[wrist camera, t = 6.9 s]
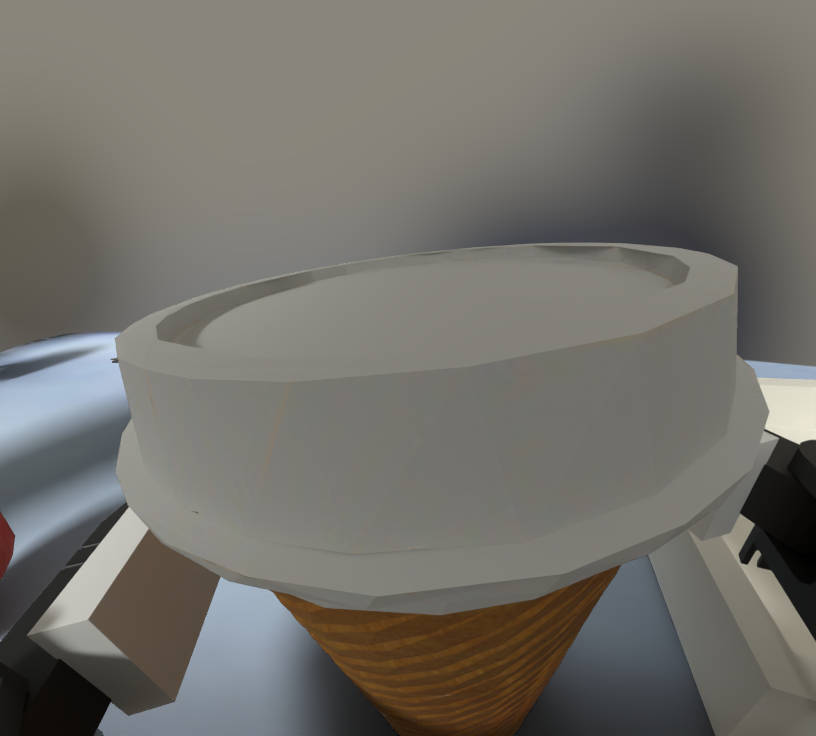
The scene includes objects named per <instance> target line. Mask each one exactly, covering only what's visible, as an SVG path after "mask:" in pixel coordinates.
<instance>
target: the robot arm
mask: <svg viewBox="0 0 816 736" xmlns="http://www.w3.org/2000/svg"><path fill="white" fill-rule="evenodd" d="M740 514H741V515H743V516H744V517H745V518H747V519H748V520H750V521H751V522H753V523H754V524H755V525H754V527H753V529H752V530H751V532H750V534H749V536H748V538H747V539H746V541H745V543H744V545H743V546H742V548H741V550H740V552H739V554H738V555H739V558H740V562H741V563H742V564H746V565H748V563H749V562H750V560H751V558H752V557H753V555H754V553H755V552H756V551H760V553H761V556H760V557H759V559H758V561H757V567H758V568H762V569H767V570H771V571H772V572H773V574H774V575H775V577H776V579H777V580H778V582H779V583H780V585H781V587H782V588H783V590H784V592H785V593H786V595H787V596H788V598H789V600H790V601H791V603H792V604H793V606H794V608H795V609H796V611H797V612H798V614H799V616H800V617H801V619H802V620H803V622H804V624H805V625H806V627H807V628H808V630H809V632H810V633H811V635H812V636H813V638H814V640H815V641H816V440H807V441H804V442H801V443H800V444H797V443H795V442H793V441H790V440H788V439H786V438H784V437H782V436H779V435H777V434H775V433H773V432H771V431H769V430H766V429H764V431H763V435H762V438H761V441H760V444H759V447H758V451H757V454H756V457H755V460H754V464H753V467H752V469H751V470H750V472H749V473H748V474H747V475H746V476H745V478H744V479H743V480H742V481H741V483H740V484H739V485H738V486H737V487H736V489H735V490H734V491H733V492H732V494H731V495H730V496H729V497H728V498H727V500H726V501H725V502H724V503H723V504H722V506H721V507H719V508H718V509H716V510H715V511H713V512H712V513H710V514H709V515H707V516H706V517H704V518H703V519H701V520H700V521H698V522H697V523H695V524H694V525H693V526H691V527H690V528H688V530H689V531H691V532H692V533H693V534H694V535H695V536H696V537H698V538H699V539H700V540H701V541H706V540H709V539H712V538H716V537H719V536H722V535H725V534H729V533H731V531H732V529H733V527H734V525H735V523H736V521H737V519H738V517H739V515H740ZM82 546H83V548H82V550H78V551H77V553H76V554H75V555H74V556H73V557H72V558H71V560H70V561H69V562H68V563H67V564H66V569H65V570H62V571H60V573H59V574H58V575H57V576H56V577H55V579H54V580H53V581H52V582H51V583H50V584H49V586H48V587H47V588H46V589H45V590H44V591H43V593H42V594H41V595H40V596H39V597H38V599H37V600H36V601H35V602H34V603H33V604H32V606H31V607H30V608H29V609H28V610H27V612H26V613H25V614H24V615H23V616H22V617H21V619H20V620H19V621H18V622H17V623H16V624H15V626H14V627H13V628H12V629H11V630H10V632H9V633H8V634H7V635H6V636H5V637H4V639H3V640H2V641H1V642H0V736H104V735H103V732H102V731H100V730H99V729H97V728H98V726H99V724H100V722H101V720H102V718H103V716H104V714H105V712H106V710H107V708H108V706H109V704H110V702H112V703H113V704H114V705H115V706H117V707H118V708H119V709H121V710H122V711H123V712H124V713H126V714H127V715H128V716H129V715H133V714H136V713H139V712H143V711H146V710H149V709H152V708H156V707H159V706H162V705H166V704H169V703H172V702H175V700H176V697H177V694H178V691H179V689H180V686H181V683H182V680H183V678H184V675H185V672H186V669H187V667H188V664H189V661H190V658H191V656H192V653H193V650H194V647H195V645H196V642H197V639H198V637H199V634H200V631H201V628H202V626H203V623H204V620H205V617H206V615H207V612H208V609H209V606H210V604H211V601H212V598H213V595H214V593H215V590H216V587H217V585H218V582H219V579H220V576H219V575H217V574H215V573H214V572H212V571H210V570H208V569H206V568H205V567H203V566H201V565H199V564H198V563H196V562H194V561H192V560H191V559H189V558H187V557H185V556H184V555H182V554H180V553H178V552H177V551H175V550H173V549H171V548H169V547H168V546H166V545H164V544H162V543H161V542H160V540H159V539H158V538H157V537H156V536H155V535H154V534H153V533H152V532H151V530H150V529H149V528H148V527H147V526H146V525H145V524H144V523H143V522H142V520H141V519H140V518H139V517H138V516H137V515H136V514H135V513H134V512H133V510H132V509H131V508H130V507H129V506H128V505H127V503H125V504H124V505H123V506H122V507H120V508H119V509H118V510H117V511H116V512H114V513H113V514H112V515H111V516H109V517H108V518H107V519H106V520H105V521H103V522H102V523H101V524H100V525H99V527H98V528H97V529H96V530H95V531H94V533H93V534H92V535H91V536H90V537H89V538H88V540H87V541H86V542H85V543H84V544H83V545H82Z"/></svg>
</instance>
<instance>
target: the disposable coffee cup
mask: <svg viewBox="0 0 816 736" xmlns="http://www.w3.org/2000/svg"><path fill="white" fill-rule="evenodd" d="M737 291H738V266H735V265H733V264H731V263H729V262H726V261H724V260H722V259H720V258H717V257H715V256H713V255H710V254H707V253H702V252H696V251H691V250H685V249H680V248H671V247H659V246H647V245H636V244H624V243H622V244H621V243H544V244H523V245H506V246H490V247H475V248H465V249H455V250H445V251H435V252H425V253H416V254H408V255H400V256H393V257H385V258H378V259H370V260H362V261H356V262H351V263H345V264H339V265H333V266H327V267H321V268H315V269H311V270H304V271H299V272H293V273H289V274H285V275H280V276H276V277H271V278H266V279H263V280H258V281H253V282H249V283H245V284H241V285H237V286H233V287H229V288H225V289H222V290H218V291H215V292H212V293H209V294H205V295H202V296H198V297H196V298H193V299H190V300H187V301H185V302H182V303H179V304H176V305H174V306H171V307H169V308H166V309H163V310H160V311H158V312H155V313H152V314H150V315H148V316H147V317H145V318H143V319H141V320H139V321H138V322H136V323H134V324H132V325H131V326H130V327H128V328H127V329H126V330H125V331H123V332H122V333H121V334H120V335H119V336H117V337H116V338H115V342H116V351H117V359H118V363H119V367H120V371H121V375H122V379H123V383H124V387H125V391H126V395H127V399H128V403H129V407H130V411H131V416H132V418H131V420H130V421H129V423H128V425H127V426H126V428H125V430H124V432H123V433H122V436H121V442H120V448H119V453H118V459H117V465H116V471H115V472H116V475H117V477H118V480H119V483H120V485H121V488H122V491H123V494H124V496H125V499H126V502H127V505H128V506H129V507H130V508H131V509H132V510H133V512H134V513H135V514H136V515H137V516H138V517H139V518H140V519H141V520H142V522H143V523H144V524H145V525H146V526H147V527H148V528H149V529H150V530H151V532H152V533H153V534H154V535H155V536H156V537H157V538H158V539H159V540H160V542H161V543H162V544H164V545H166V546H168V547H169V548H171V549H173V550H175V551H177V552H178V553H180V554H182V555H184V556H185V557H187V558H189V559H191V560H192V561H194V562H196V563H198V564H199V565H201V566H203V567H205V568H206V569H208V570H210V571H212V572H214V573H215V574H217V575H219V576H221V577H222V578H224V579H226V580H228V581H230V582H235V583H240V584H244V585H249V586H254V587H258V588H263V589H268V590H270V591H272V592H273V593H274V594H275V595H276V597H277V598H278V599H279V601H280V602H281V603H282V604H283V605H284V606H285V607H286V608H287V609H288V610H289V611H290V612H291V613H292V615H293V616H294V617H295V619H296V620H297V621H298V622H299V623H300V624H301V625H302V626H303V627H304V628H306V629H307V631H308V632H309V634H310V635H311V636H312V638H313V639H314V640H316V641H317V642H318V644H319V645H320V646H321V647H322V649H323V650H324V651H325V652H326V653H327V654H329V655H330V657H331V658H332V659H333V661H334V662H335V663H336V664H337V665H338V666H339V667H340V669H341V670H342V671H343V672H344V673H345V674H346V675H347V676H348V677H349V679H350V680H351V681H352V682H353V683H354V684H355V685H356V686H357V687H358V688H359V690H360V691H361V692H362V694H364V695H365V696H366V697H367V699H368V700H370V701H371V703H372V704H373V705H374V706H375V707H376V708H377V709H378V710H379V712H380V713H381V714H382V715H383V716H384V717H385V719H386V720H387V721H388V722H389V724H390V725H391V726H392V727H393V729H394V730H395V731H396V732H397V733H398V734H400V735H401V736H512V735H513V734H514V733H515V732H516V731H517V730H518V729H519V728H520V727H521V725H522V723H523V722H524V720H525V718H526V716H527V715H528V713H529V712H530V710H531V708H532V707H533V705H534V703H535V702H536V701H537V699H538V697H539V695H540V694H541V693H542V691H543V689H544V687H545V686H546V685H547V683H548V682H549V680H550V678H551V677H552V675H553V674H554V672H555V670H556V669H557V668H558V667H559V665H560V663H561V661H562V660H563V658H564V656H565V654H566V652H567V650H568V649H569V648H570V646H571V645H572V643H573V641H574V639H575V638H576V636H577V634H578V633H579V631H580V629H581V627H582V626H583V624H584V622H585V621H586V619H587V618H588V616H589V615H590V613H591V611H592V610H593V608H594V606H595V605H596V603H597V602H598V600H599V599H600V597H601V596H602V594H603V592H604V591H605V589H606V588H607V586H608V585H609V584H610V582H611V581H612V579H613V578H614V577H615V575H616V573H617V572H618V570H619V568H620V566H621V564H624V563H627V562H629V561H632V560H635V559H637V558H640V557H643V556H646V555H648V554H651V553H653V552H654V551H656V550H657V549H659V548H660V547H662V546H663V545H664V544H666V543H667V542H669V541H670V540H672V539H673V538H675V537H676V536H678V535H679V534H681V533H682V532H684V531H685V530H687V529H688V528H690V527H691V526H693V525H694V524H695V523H697V522H698V521H700V520H701V519H703V518H704V517H706V516H707V515H709V514H710V513H712V512H713V511H715V510H716V509H718V508H719V507H721V506H722V504H723V503H724V502H725V501H726V500H727V498H728V497H729V496H730V495H731V494H732V492H733V491H734V490H735V489H736V487H737V486H738V485H739V484H740V483H741V481H742V480H743V479H744V478H745V476H746V475H747V474H748V473H749V472H750V470H751V469H752V467H753V464H754V460H755V457H756V454H757V451H758V447H759V444H760V441H761V438H762V435H763V431H764V428H765V425H766V422H767V418H768V415H769V412H770V411H769V409H768V406H767V404H766V401H765V398H764V396H763V393H762V390H761V388H760V385H759V382H758V380H757V377H756V374H755V372H754V369H753V368H752V367H750V366H749V365H748V364H747V363H746V362H745V361H744V360H743V359H741V358H740V357H739V356H738V355H737V352H736V350H737Z"/></svg>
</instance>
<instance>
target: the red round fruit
mask: <svg viewBox="0 0 816 736" xmlns="http://www.w3.org/2000/svg"><path fill="white" fill-rule="evenodd" d="M14 540H15V535H14V533H13V531H12V530H11V528H10V526H9V524H8V523H7V521H6V519H5V518H4V517H3V515H2V514H1V512H0V580H1V578H2V576H3V575H4V573H5V571H6V569H7V566H8V564H9V562H10V560H11V558H12V555H13V549H14Z"/></svg>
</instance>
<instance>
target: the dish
mask: <svg viewBox="0 0 816 736" xmlns="http://www.w3.org/2000/svg"><path fill="white" fill-rule="evenodd" d="M757 380H758V382H759V385H760V388H761V390H762V393H763V396H764V398H765V401H766V404H767V406H768V409H769V411H770V412H769V415H768V418H767V422H766V425H765V428H764V429H766V430H769V431H771V432H773V433H775V434H777V435H779V436H782V437H784V438H786V439H788V440H790V441H793V442H795V443H797V444H800V443H801V442H804V441H807V440H816V380H803V379H777V378H757ZM754 525H755V524H754V523H753V522H751V521H750V520H748V519H747V518H745V517H744V516H743V515H741V514H740V515H739V517H738V519H737V521H736V523H735V525H734V527H733V529H732V531H731V533H729V534H725V535H722V536H719V537H716V538H712V539H709V540H706V541H701V540H700V539H699V538H698V537H696V536H695V535H694V534H693V533H692V532H691V531H689V530H688V529H687V530H685V531H684V532H682V533H681V534H679V535H678V536H676V537H675V538H673V539H672V540H670V541H669V542H667V543H666V544H664V545H663V546H662V547H660V548H659V549H657V550H656V551H654V552H653V553H651V554H648V556H649V558H650V561H651V564H652V567H653V569H654V572H655V575H656V577H657V580H658V583H659V585H660V588H661V591H662V593H663V596H664V599H665V602H666V604H667V607H668V610H669V612H670V615H671V618H672V620H673V623H674V626H675V629H676V631H677V634H678V637H679V639H680V642H681V645H682V647H683V650H684V653H685V655H686V658H687V661H688V664H689V666H690V669H691V672H692V674H693V677H694V680H695V682H696V685H697V688H698V690H699V693H700V696H701V699H702V701H703V704H704V707H705V709H706V712H707V715H708V717H709V720H710V723H711V725H712V728H713V731H714V734H715V736H816V641H815V640H814V638H813V636H812V635H811V633H810V632H809V630H808V628H807V627H806V625H805V624H804V622H803V620H802V619H801V617H800V616H799V614H798V612H797V611H796V609H795V608H794V606H793V604H792V603H791V601H790V600H789V598H788V596H787V595H786V593H785V592H784V590H783V588H782V587H781V585H780V583H779V582H778V580H777V579H776V577H775V575H774V574H773V572H772V571H771V570H767V569H762V568H758V567H757V561H758V559H759V557H760V556H761V553H760V551H756V552H755V553H754V555H753V557H752V558H751V560H750V562H749V563H748V565H746V564H742V563H741V562H740V558H739V555H738V554H739V552H740V550H741V548H742V546H743V545H744V543H745V541H746V539H747V538H748V536H749V534H750V532H751V530H752V529H753V527H754Z"/></svg>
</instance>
